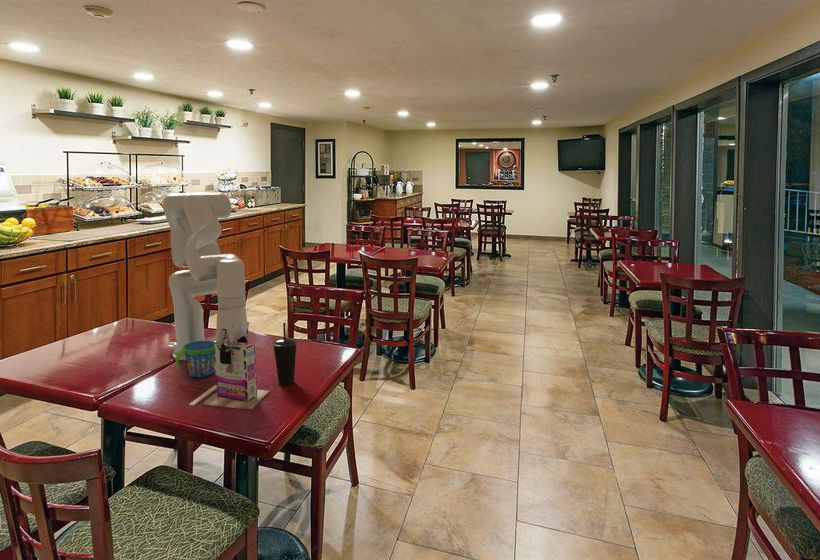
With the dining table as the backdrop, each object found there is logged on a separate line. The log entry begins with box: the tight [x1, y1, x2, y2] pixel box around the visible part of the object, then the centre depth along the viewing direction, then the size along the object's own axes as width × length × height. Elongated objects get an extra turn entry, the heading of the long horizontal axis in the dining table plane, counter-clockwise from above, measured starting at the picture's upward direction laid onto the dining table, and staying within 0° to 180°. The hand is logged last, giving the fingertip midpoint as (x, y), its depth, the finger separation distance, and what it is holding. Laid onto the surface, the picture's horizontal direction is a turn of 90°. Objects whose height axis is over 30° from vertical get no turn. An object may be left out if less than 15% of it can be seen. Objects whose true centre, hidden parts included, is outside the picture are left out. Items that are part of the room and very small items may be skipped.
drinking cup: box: [272, 322, 298, 387], centre depth 161 cm, size 8×8×20 cm
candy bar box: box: [214, 341, 258, 402], centre depth 149 cm, size 11×5×16 cm, turn 70°
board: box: [202, 389, 271, 410], centre depth 151 cm, size 15×12×1 cm
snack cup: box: [175, 340, 216, 379], centre depth 168 cm, size 16×10×10 cm
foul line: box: [188, 384, 217, 406], centre depth 152 cm, size 2×14×1 cm, turn 171°
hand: (234, 357), depth 149 cm, fingers open, 9 cm apart
